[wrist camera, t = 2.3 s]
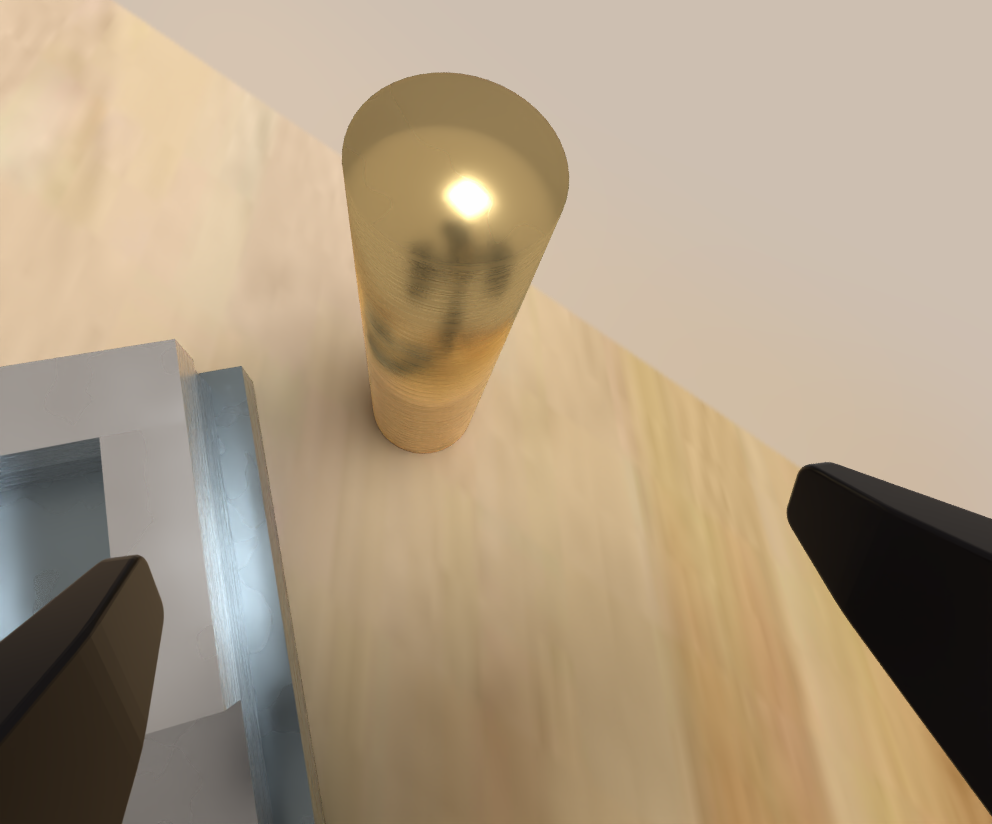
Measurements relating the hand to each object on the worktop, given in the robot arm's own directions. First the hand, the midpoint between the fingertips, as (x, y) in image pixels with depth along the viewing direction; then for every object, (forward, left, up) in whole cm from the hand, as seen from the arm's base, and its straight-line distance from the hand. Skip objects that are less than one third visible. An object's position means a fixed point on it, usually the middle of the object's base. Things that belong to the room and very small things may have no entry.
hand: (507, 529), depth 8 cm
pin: (+5, -1, -12) cm, 13 cm away
